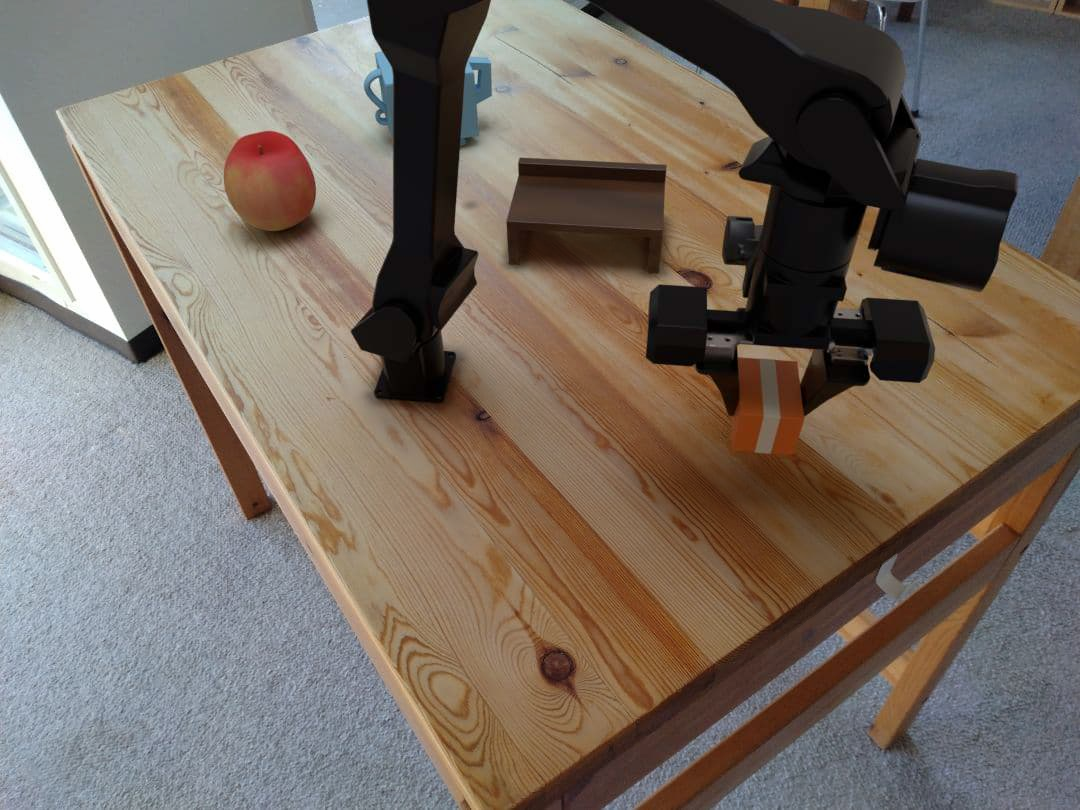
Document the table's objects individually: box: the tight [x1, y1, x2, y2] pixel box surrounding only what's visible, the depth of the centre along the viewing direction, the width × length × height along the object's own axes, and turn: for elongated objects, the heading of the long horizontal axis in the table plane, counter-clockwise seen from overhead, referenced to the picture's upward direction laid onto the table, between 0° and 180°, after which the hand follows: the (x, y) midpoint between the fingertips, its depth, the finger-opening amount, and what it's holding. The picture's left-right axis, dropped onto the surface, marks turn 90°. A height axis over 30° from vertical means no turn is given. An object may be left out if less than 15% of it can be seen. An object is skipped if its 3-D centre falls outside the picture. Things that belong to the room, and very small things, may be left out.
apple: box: [223, 130, 317, 232], centre depth 93 cm, size 10×10×10 cm
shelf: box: [505, 157, 668, 274], centre depth 91 cm, size 10×16×7 cm, turn 83°
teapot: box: [363, 51, 493, 147], centre depth 107 cm, size 16×18×11 cm
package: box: [730, 356, 805, 456], centre depth 64 cm, size 6×4×4 cm
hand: (762, 414), depth 64 cm, fingers closed on package, 4 cm apart
